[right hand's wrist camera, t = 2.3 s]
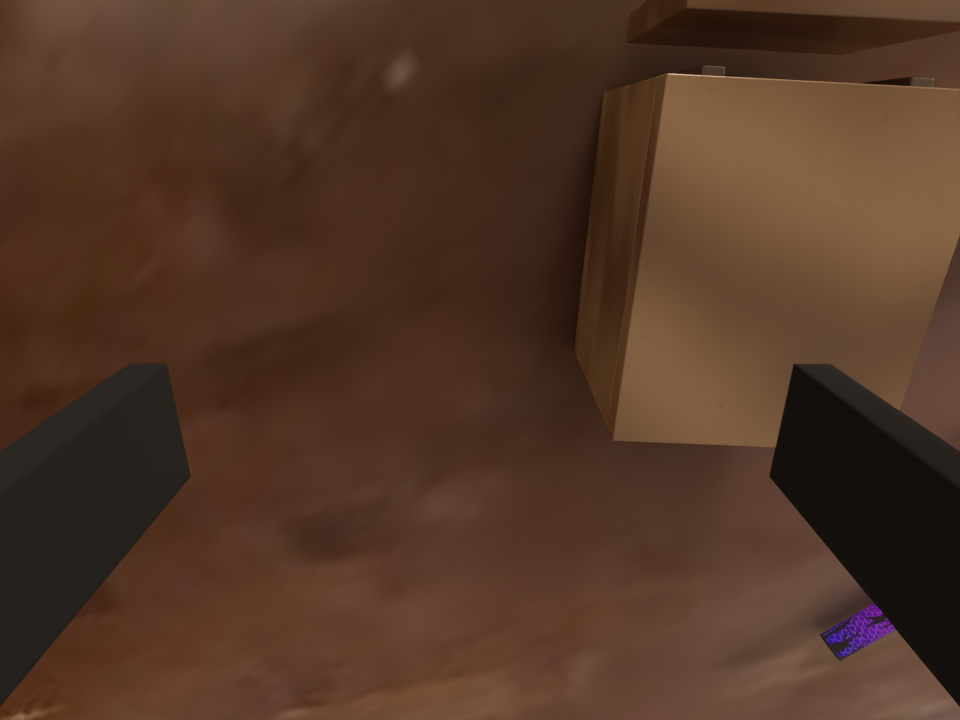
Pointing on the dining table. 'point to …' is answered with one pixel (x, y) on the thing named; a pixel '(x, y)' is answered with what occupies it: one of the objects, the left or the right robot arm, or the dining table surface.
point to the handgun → (857, 632)
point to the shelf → (793, 26)
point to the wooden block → (760, 247)
